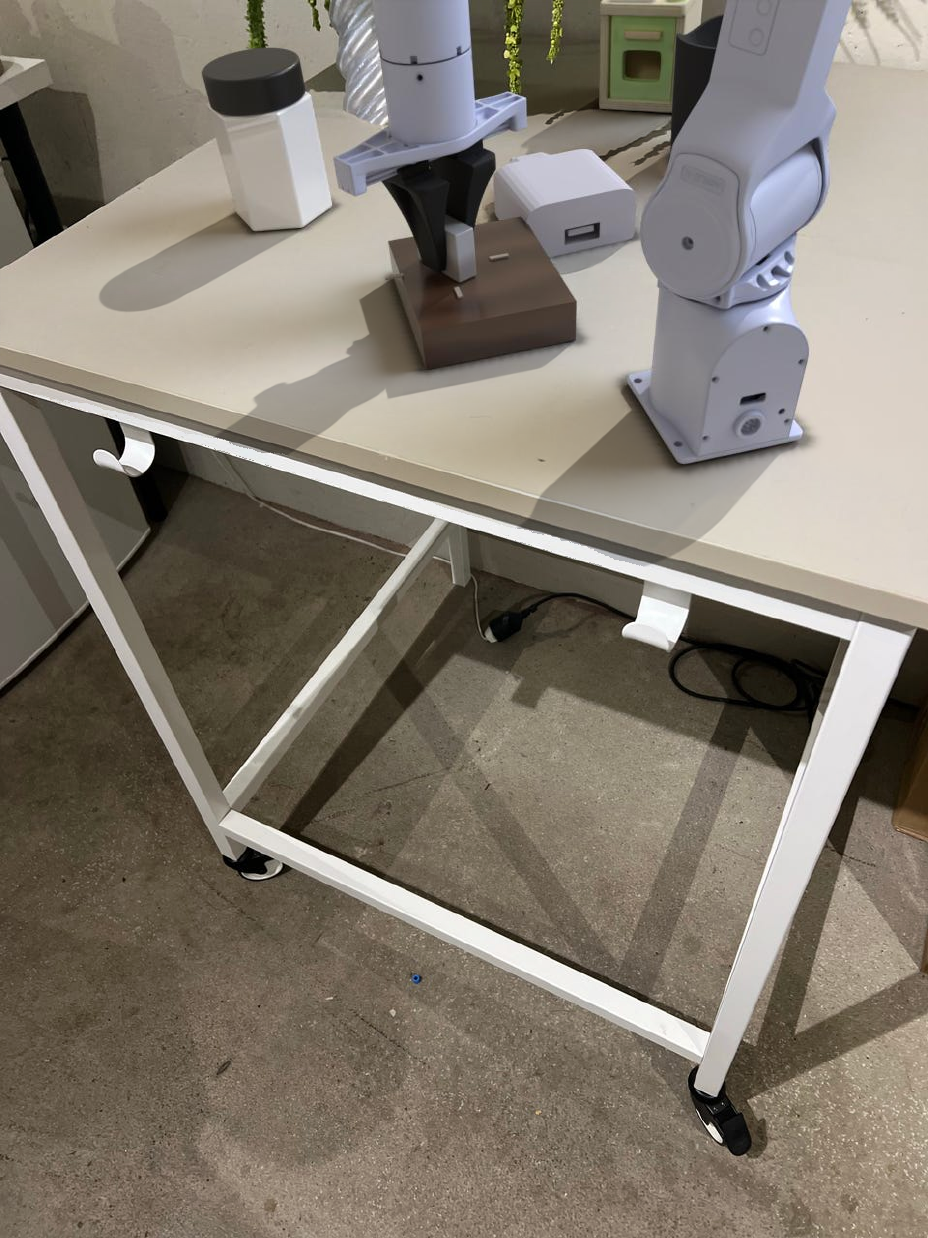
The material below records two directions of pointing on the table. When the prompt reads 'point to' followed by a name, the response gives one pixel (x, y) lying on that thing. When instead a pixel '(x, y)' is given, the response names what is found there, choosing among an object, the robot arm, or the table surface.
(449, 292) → the brown square block base
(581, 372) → the table surface
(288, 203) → the jar
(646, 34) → the toy kitchen stove
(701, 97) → the robot arm
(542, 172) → the charger
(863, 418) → the table surface
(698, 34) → the pen holder
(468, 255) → the block
